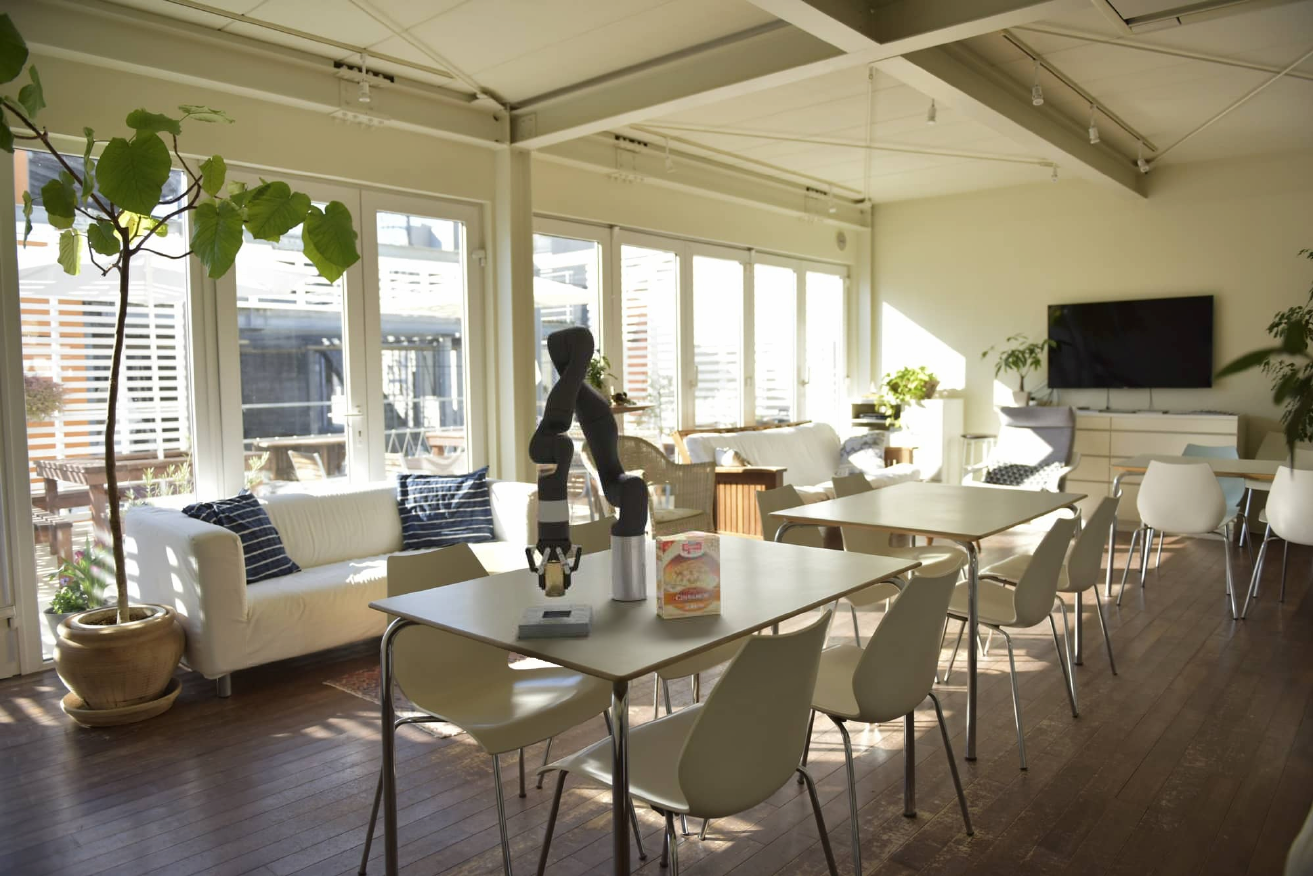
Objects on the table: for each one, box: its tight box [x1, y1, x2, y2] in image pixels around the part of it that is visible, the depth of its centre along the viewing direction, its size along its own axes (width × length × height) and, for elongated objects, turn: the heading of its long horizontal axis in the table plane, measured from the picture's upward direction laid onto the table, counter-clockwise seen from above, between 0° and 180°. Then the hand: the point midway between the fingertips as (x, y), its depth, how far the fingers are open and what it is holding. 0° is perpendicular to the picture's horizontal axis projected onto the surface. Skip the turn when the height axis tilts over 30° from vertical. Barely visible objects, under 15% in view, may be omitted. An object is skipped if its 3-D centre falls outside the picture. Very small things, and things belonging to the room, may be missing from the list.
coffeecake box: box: [655, 532, 722, 620], centre depth 230 cm, size 15×7×20 cm, turn 106°
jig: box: [517, 603, 594, 639], centre depth 220 cm, size 16×18×3 cm
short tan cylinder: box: [544, 561, 567, 598], centre depth 220 cm, size 5×5×8 cm
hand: (554, 588), depth 220 cm, fingers closed on short tan cylinder, 5 cm apart
